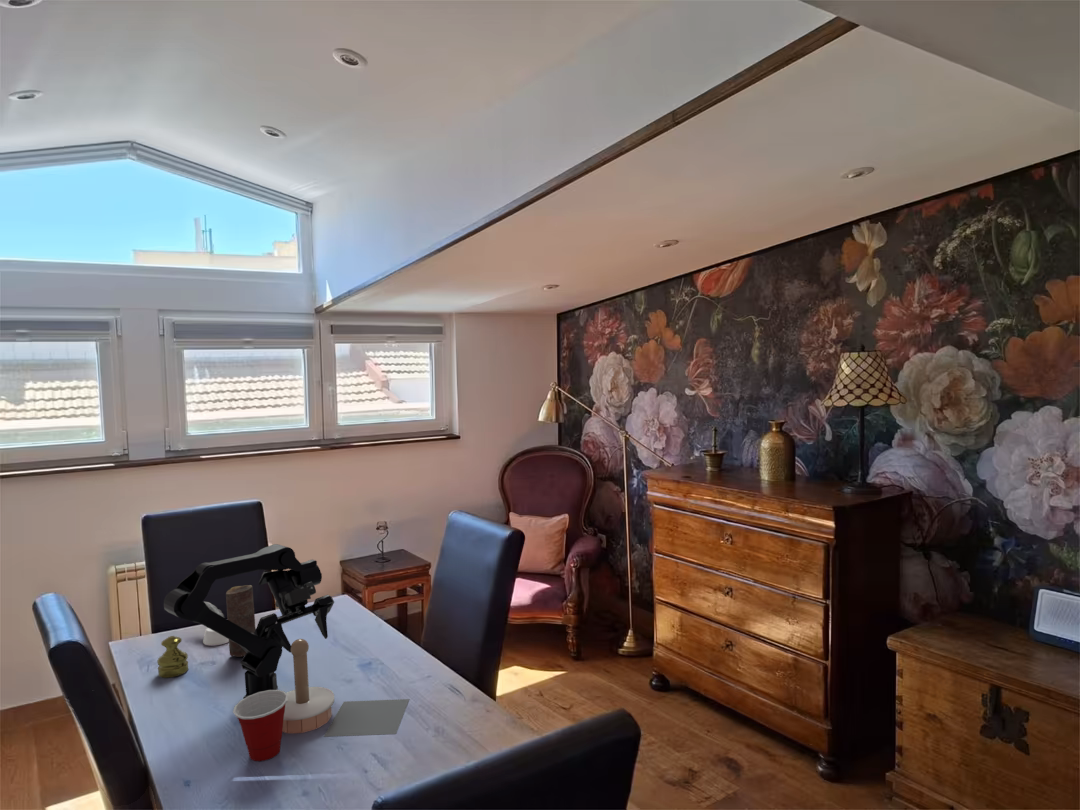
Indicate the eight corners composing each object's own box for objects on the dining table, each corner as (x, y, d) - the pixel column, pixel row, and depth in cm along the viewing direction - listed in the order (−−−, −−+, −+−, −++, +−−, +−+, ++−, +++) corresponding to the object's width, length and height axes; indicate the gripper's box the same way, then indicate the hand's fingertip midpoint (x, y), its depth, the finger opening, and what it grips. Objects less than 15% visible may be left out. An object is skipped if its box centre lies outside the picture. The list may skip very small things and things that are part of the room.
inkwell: (210, 648, 207) (208, 615, 206) (185, 634, 218) (183, 603, 218) (241, 638, 214) (239, 606, 213) (214, 626, 225) (213, 595, 225)
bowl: (268, 736, 155) (267, 719, 155) (287, 710, 167) (286, 693, 166) (321, 734, 155) (320, 717, 155) (337, 708, 167) (336, 691, 167)
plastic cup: (226, 759, 146) (223, 704, 145) (274, 737, 154) (271, 684, 154) (252, 777, 139) (248, 719, 138) (301, 753, 147) (297, 698, 147)
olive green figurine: (167, 667, 194) (165, 632, 194) (194, 666, 194) (191, 631, 194) (152, 678, 187) (149, 642, 187) (179, 678, 187) (177, 641, 186)
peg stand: (257, 716, 156) (252, 649, 155) (296, 688, 169) (292, 626, 168) (310, 723, 152) (306, 654, 151) (346, 694, 165) (342, 630, 164)
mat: (323, 739, 153) (323, 736, 153) (343, 703, 169) (343, 701, 169) (396, 736, 153) (396, 733, 153) (409, 701, 169) (409, 699, 169)
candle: (246, 661, 196) (242, 591, 195) (223, 660, 198) (219, 591, 197) (262, 650, 204) (258, 583, 203) (240, 649, 205) (236, 582, 204)
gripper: (254, 586, 167) (279, 642, 160) (326, 564, 180) (352, 615, 173) (246, 610, 174) (269, 665, 167) (316, 587, 186) (340, 637, 180)
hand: (309, 644), depth 171 cm, fingers open, 9 cm apart
